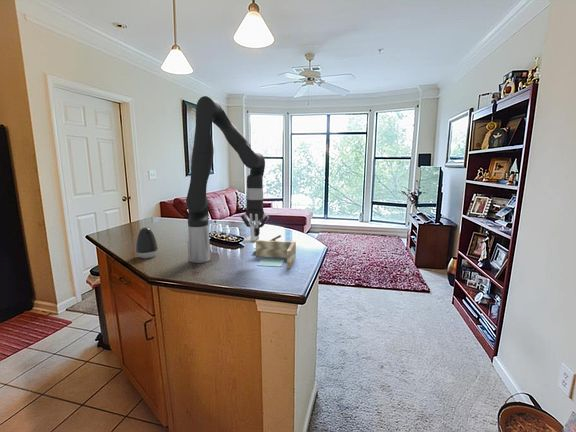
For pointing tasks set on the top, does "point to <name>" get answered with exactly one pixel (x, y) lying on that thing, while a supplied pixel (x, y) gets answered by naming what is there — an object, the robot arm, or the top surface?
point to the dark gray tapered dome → (146, 243)
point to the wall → (273, 239)
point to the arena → (277, 250)
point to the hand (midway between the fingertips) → (255, 235)
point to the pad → (271, 263)
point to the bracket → (252, 235)
